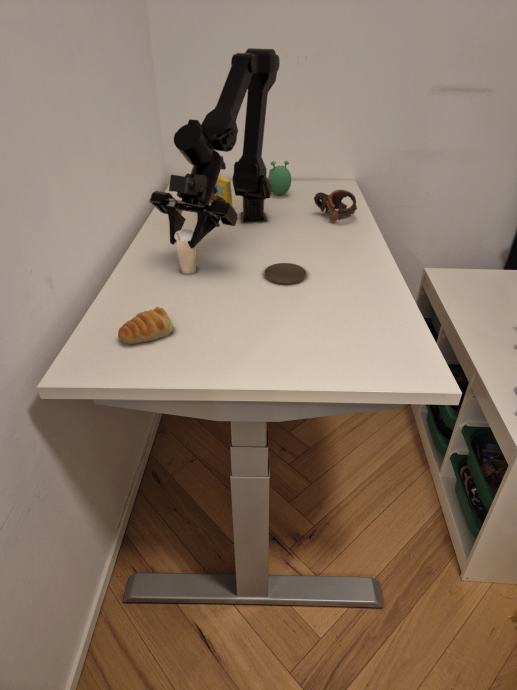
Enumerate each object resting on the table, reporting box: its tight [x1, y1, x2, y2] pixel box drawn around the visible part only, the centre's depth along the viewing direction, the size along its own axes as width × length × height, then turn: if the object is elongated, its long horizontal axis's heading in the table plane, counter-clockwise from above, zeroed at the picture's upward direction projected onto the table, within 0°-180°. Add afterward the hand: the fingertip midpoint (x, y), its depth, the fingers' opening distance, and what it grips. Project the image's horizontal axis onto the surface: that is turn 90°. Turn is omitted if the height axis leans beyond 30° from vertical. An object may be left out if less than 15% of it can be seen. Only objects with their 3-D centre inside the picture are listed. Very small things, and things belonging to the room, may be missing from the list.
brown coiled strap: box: [313, 189, 358, 224], centre depth 126 cm, size 12×10×8 cm
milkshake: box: [174, 228, 197, 275], centre depth 100 cm, size 5×5×10 cm
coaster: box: [263, 262, 307, 286], centre depth 101 cm, size 9×9×1 cm
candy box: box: [210, 174, 233, 207], centre depth 135 cm, size 16×2×8 cm, turn 37°
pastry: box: [117, 306, 174, 345], centre depth 82 cm, size 9×7×4 cm
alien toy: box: [267, 160, 292, 196], centre depth 140 cm, size 7×8×10 cm
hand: (181, 245), depth 98 cm, fingers closed on milkshake, 4 cm apart
